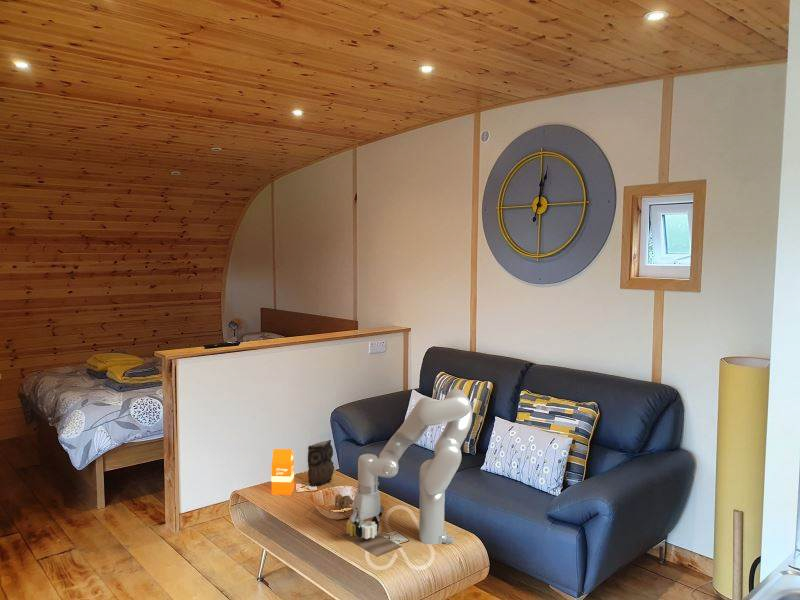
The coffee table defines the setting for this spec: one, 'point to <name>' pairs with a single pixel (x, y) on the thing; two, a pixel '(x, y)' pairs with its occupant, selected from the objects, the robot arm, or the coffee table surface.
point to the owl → (320, 463)
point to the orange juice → (282, 472)
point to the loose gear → (369, 529)
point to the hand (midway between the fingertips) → (367, 532)
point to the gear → (351, 528)
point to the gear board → (373, 543)
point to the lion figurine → (343, 501)
